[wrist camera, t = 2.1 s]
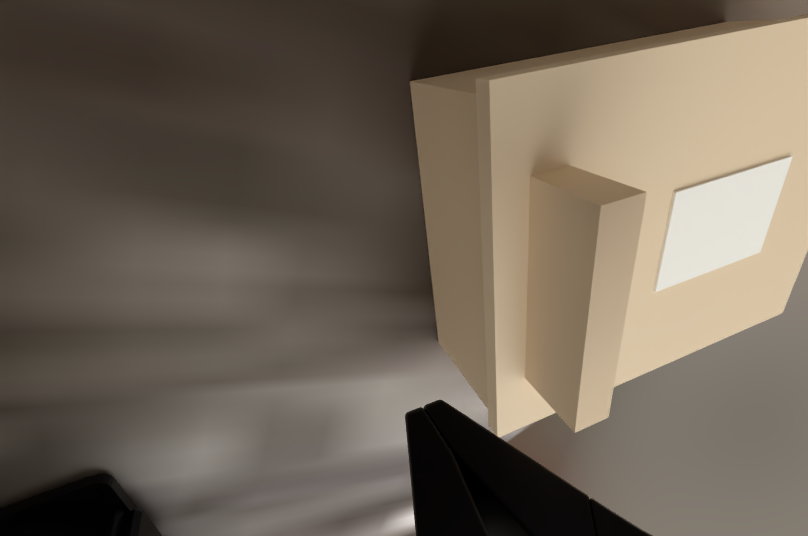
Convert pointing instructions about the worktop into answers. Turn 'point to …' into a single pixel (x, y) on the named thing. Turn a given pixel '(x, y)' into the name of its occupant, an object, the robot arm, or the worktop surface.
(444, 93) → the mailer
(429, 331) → the worktop surface
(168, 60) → the worktop surface
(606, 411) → the lid
